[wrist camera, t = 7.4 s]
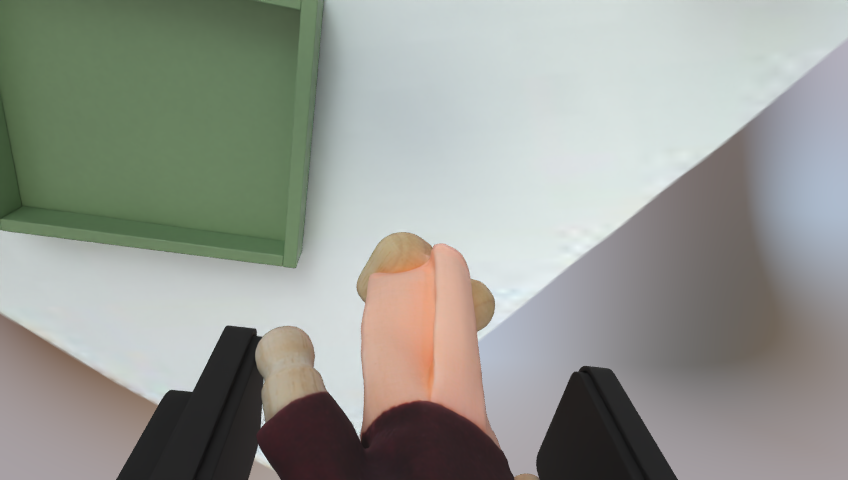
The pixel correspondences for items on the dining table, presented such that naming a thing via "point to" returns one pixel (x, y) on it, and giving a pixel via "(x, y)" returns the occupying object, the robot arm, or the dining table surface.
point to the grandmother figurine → (391, 379)
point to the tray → (160, 123)
